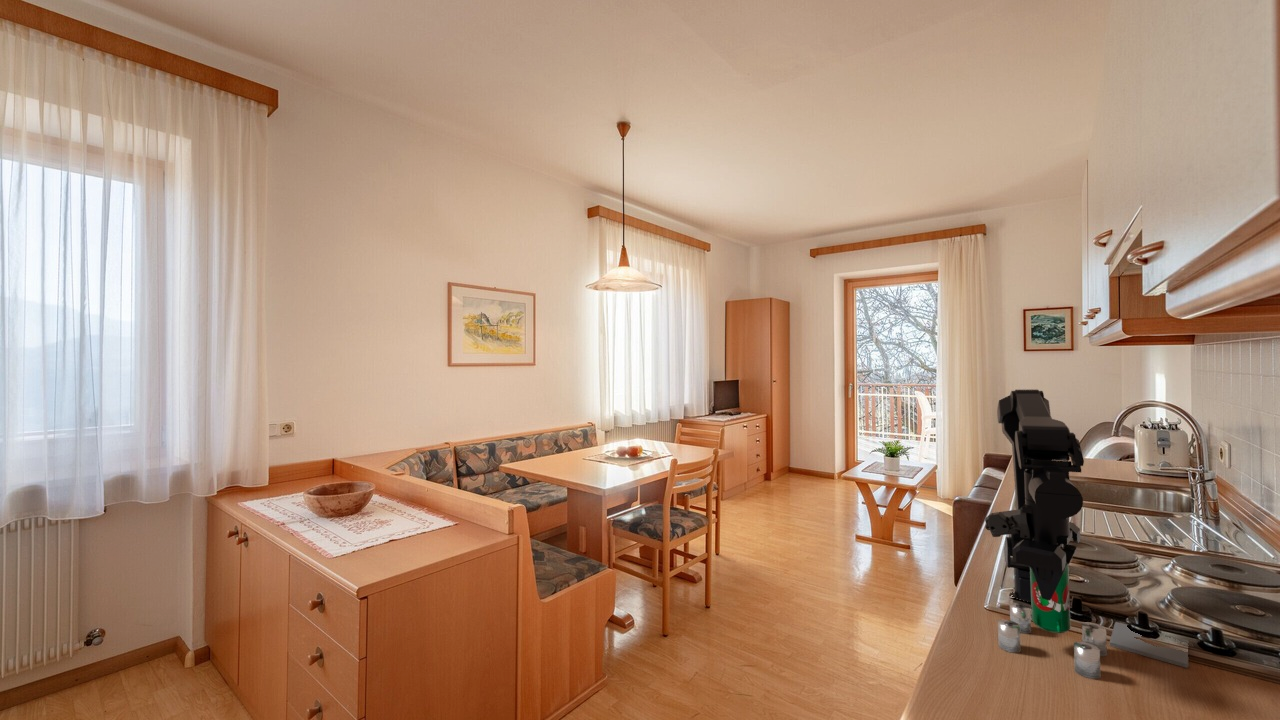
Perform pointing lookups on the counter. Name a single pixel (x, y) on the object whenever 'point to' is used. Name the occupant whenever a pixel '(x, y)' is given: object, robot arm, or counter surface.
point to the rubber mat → (1146, 646)
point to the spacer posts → (1083, 651)
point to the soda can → (1051, 606)
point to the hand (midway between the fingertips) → (1049, 593)
